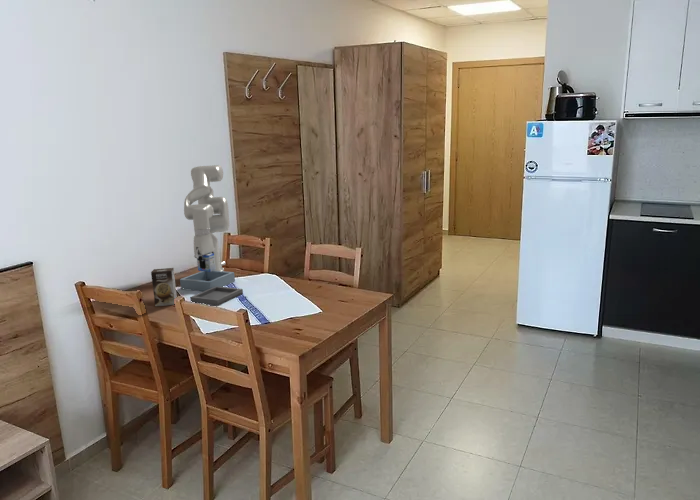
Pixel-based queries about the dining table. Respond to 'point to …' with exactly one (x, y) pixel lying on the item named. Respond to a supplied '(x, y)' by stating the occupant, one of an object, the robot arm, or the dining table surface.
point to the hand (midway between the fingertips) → (206, 266)
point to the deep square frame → (199, 279)
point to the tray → (217, 295)
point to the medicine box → (208, 263)
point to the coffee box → (164, 286)
